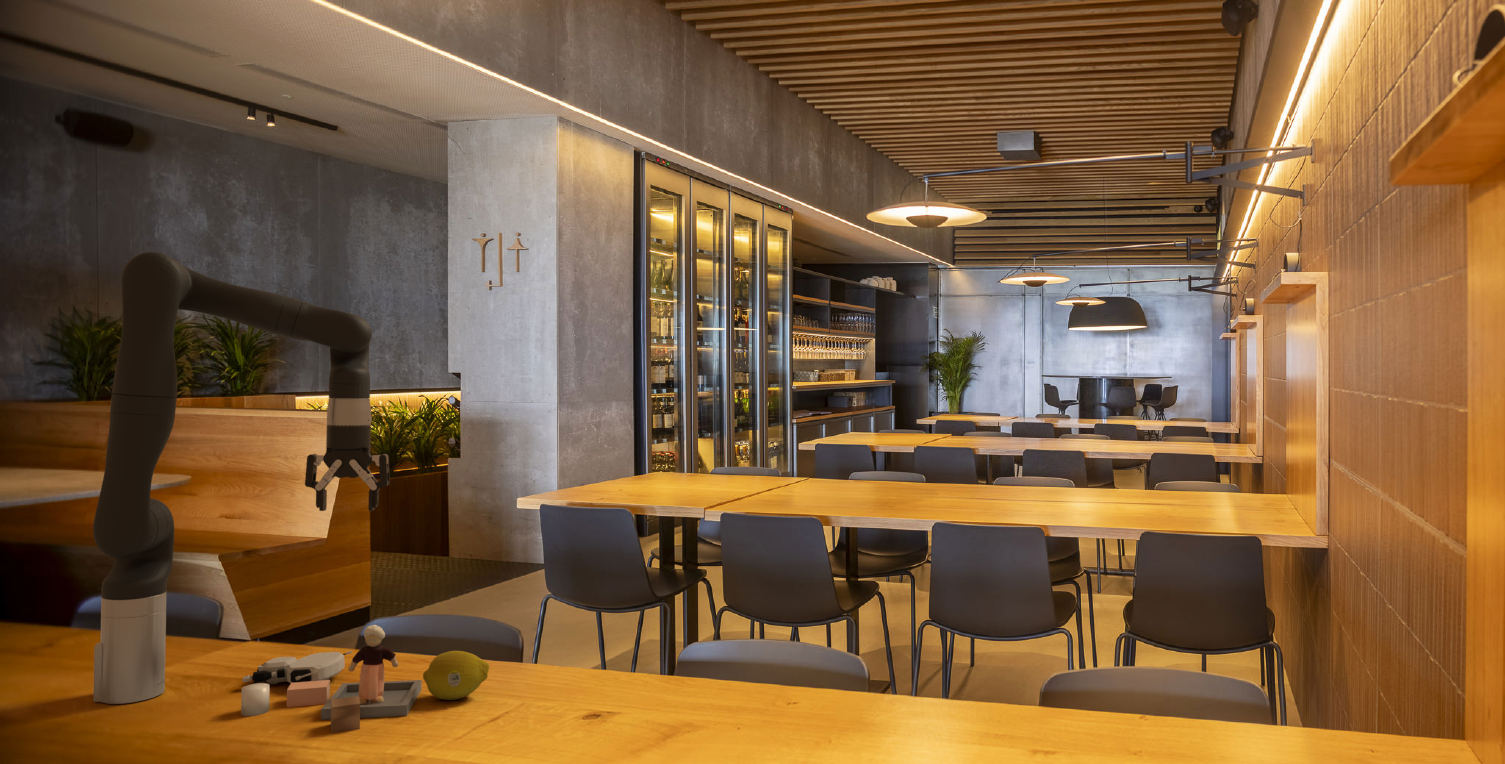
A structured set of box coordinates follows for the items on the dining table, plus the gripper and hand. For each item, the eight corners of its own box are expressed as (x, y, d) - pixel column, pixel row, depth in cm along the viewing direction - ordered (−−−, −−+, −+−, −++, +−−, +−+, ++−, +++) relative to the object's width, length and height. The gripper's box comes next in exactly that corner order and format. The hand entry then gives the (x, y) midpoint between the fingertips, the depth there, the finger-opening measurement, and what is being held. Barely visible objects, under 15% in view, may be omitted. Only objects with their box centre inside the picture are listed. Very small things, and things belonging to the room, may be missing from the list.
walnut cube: (331, 733, 140) (331, 707, 140) (330, 724, 143) (331, 699, 143) (359, 729, 142) (360, 703, 142) (358, 721, 145) (358, 695, 145)
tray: (320, 720, 145) (321, 709, 145) (342, 693, 158) (342, 683, 158) (406, 715, 147) (407, 705, 147) (421, 689, 160) (421, 680, 160)
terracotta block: (286, 708, 151) (287, 690, 151) (291, 700, 155) (291, 682, 155) (326, 705, 153) (326, 687, 153) (329, 697, 156) (329, 679, 156)
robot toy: (237, 697, 158) (322, 693, 157) (236, 671, 158) (320, 667, 157) (278, 675, 170) (356, 671, 170) (276, 651, 170) (355, 647, 170)
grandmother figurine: (349, 708, 149) (350, 630, 149) (347, 700, 153) (348, 624, 153) (399, 701, 153) (400, 625, 153) (396, 694, 156) (397, 620, 156)
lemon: (415, 706, 152) (416, 658, 152) (431, 691, 160) (432, 645, 160) (480, 706, 152) (481, 658, 152) (493, 691, 160) (494, 645, 160)
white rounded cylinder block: (237, 717, 146) (237, 691, 146) (246, 708, 150) (246, 684, 150) (264, 715, 147) (264, 690, 147) (272, 707, 151) (273, 682, 151)
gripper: (301, 423, 164) (300, 513, 164) (385, 423, 167) (383, 512, 167) (313, 422, 172) (312, 508, 172) (393, 422, 174) (392, 507, 174)
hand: (347, 510), depth 169 cm, fingers open, 8 cm apart
